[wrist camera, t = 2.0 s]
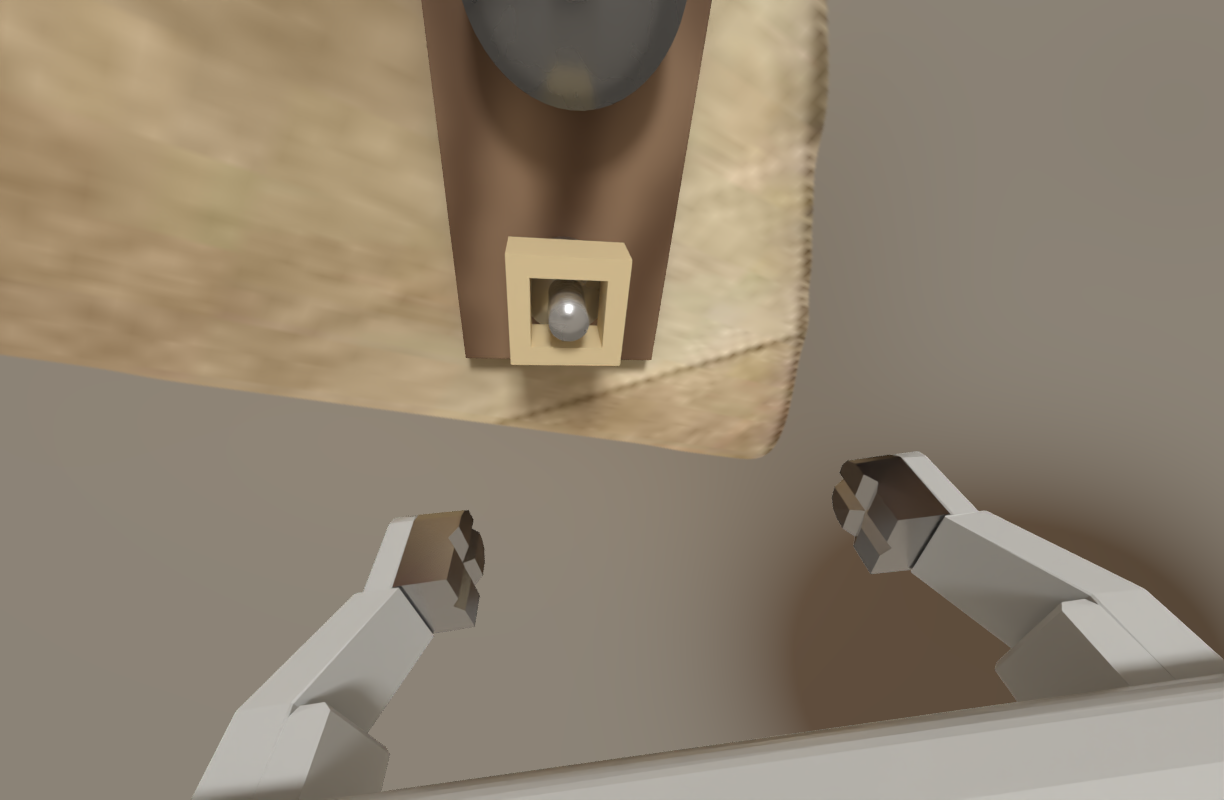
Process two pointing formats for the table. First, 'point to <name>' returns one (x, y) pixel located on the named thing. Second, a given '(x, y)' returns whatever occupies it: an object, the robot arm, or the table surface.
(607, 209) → the base board
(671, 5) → the hub
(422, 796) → the robot arm
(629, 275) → the collar
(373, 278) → the table surface
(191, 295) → the table surface
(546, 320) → the silver knob
